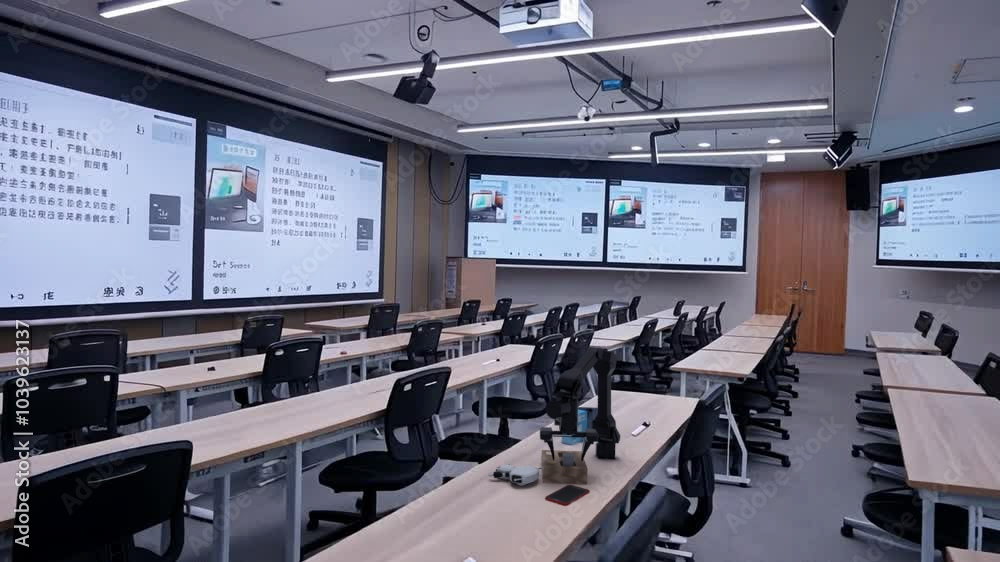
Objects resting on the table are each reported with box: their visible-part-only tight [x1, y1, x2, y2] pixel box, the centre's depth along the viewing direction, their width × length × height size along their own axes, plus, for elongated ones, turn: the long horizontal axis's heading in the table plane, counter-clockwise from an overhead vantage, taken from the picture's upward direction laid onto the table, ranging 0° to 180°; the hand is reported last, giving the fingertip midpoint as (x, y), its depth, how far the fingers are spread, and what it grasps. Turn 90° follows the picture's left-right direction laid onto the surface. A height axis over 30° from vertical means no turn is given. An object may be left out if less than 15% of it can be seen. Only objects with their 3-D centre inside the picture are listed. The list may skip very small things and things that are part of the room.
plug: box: [562, 453, 574, 466], centre depth 195 cm, size 3×3×8 cm
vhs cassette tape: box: [578, 406, 598, 429], centre depth 253 cm, size 18×3×10 cm, turn 88°
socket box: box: [540, 449, 588, 485], centre depth 200 cm, size 14×18×5 cm
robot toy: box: [488, 464, 543, 487], centre depth 193 cm, size 12×4×15 cm
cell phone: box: [544, 484, 590, 507], centre depth 181 cm, size 8×15×1 cm, turn 142°
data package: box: [561, 410, 587, 446], centre depth 237 cm, size 12×4×12 cm, turn 142°
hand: (567, 460), depth 195 cm, fingers open, 9 cm apart
